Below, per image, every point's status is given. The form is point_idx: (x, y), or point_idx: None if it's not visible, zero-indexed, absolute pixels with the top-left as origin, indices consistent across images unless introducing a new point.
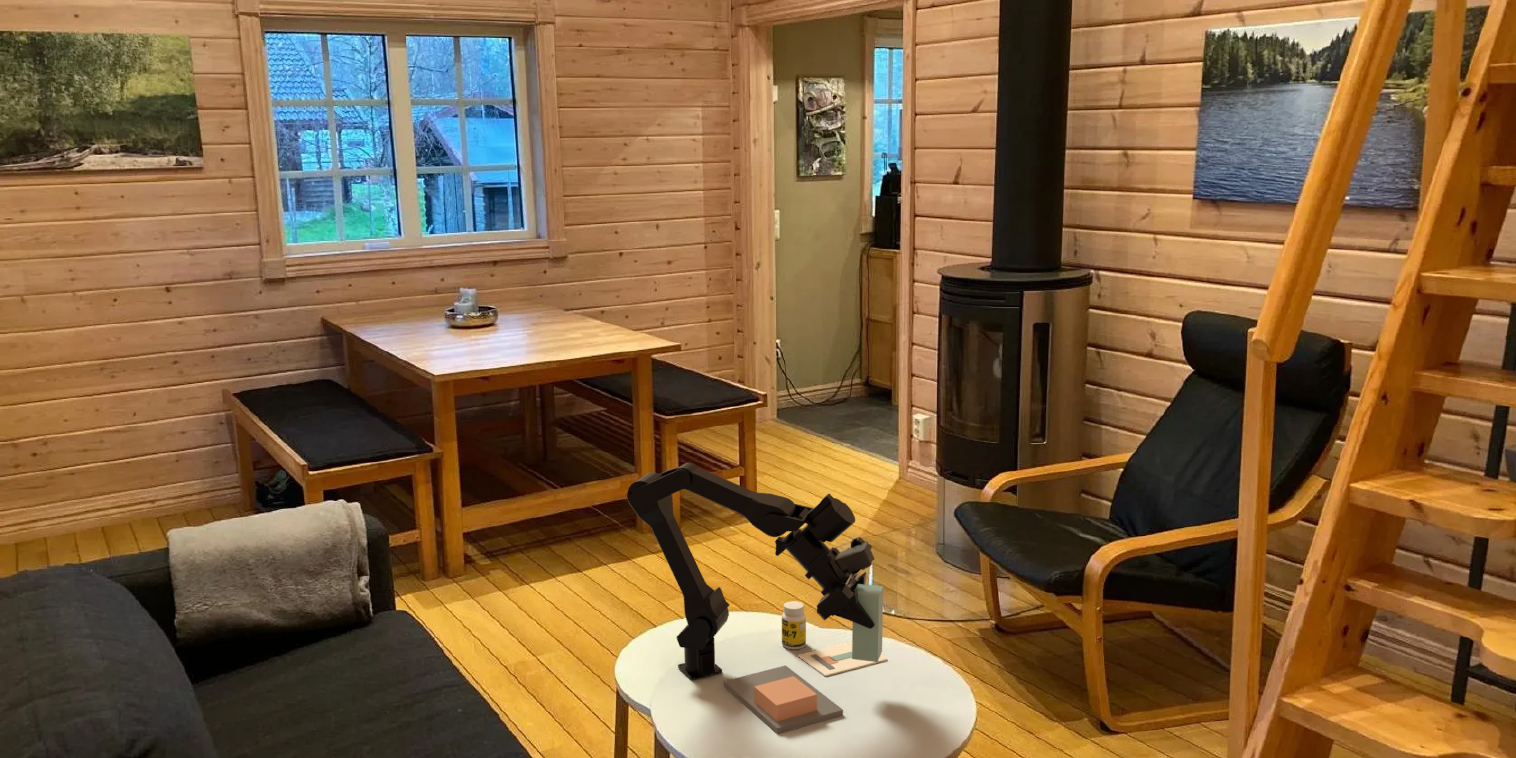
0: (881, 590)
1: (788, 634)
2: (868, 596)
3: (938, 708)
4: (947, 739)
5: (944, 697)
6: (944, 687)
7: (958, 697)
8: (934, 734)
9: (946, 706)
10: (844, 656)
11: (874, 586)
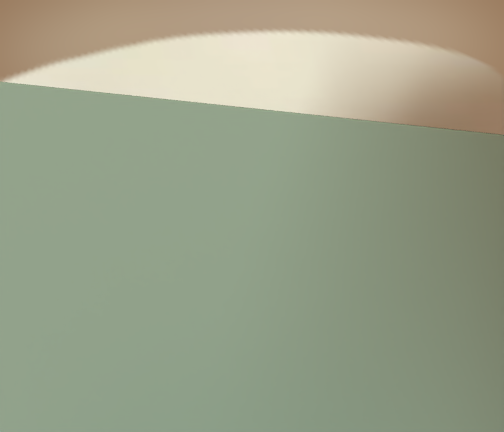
0: (327, 118)
1: None
2: None
3: (291, 104)
4: (475, 79)
5: (207, 86)
6: (127, 85)
7: (198, 43)
8: (459, 115)
9: (271, 80)
10: None
11: (4, 390)
